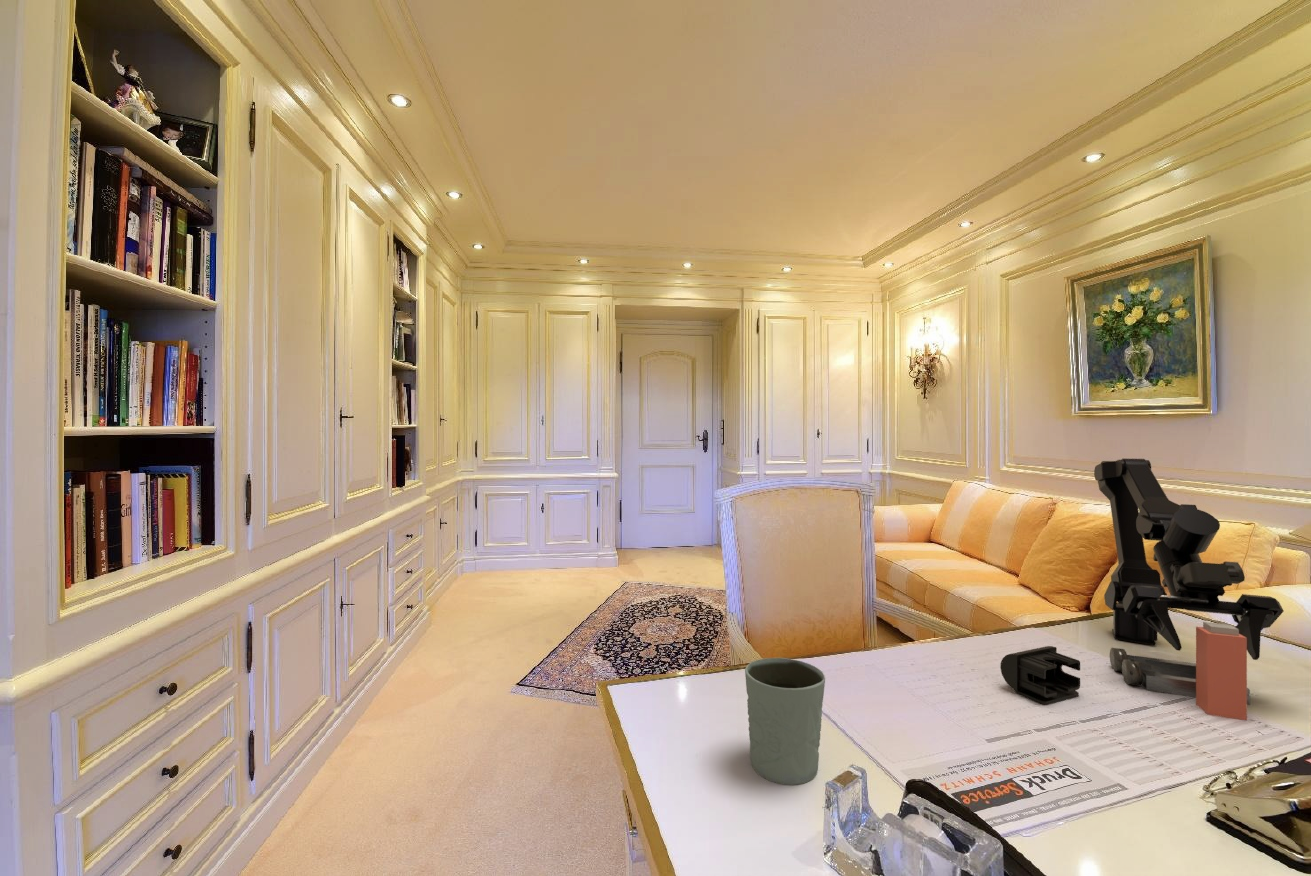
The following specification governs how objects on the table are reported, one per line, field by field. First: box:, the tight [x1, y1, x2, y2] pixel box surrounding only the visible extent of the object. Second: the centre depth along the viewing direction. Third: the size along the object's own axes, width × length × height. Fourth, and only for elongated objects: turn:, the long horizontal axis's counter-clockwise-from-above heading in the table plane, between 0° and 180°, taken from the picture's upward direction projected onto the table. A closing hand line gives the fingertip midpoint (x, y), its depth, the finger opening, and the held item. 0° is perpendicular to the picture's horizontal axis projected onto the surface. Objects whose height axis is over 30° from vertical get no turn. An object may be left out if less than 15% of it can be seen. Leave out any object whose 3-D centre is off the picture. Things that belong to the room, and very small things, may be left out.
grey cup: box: [744, 657, 826, 786], centre depth 71 cm, size 10×10×12 cm
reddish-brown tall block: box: [1195, 621, 1248, 721], centre depth 85 cm, size 4×4×14 cm
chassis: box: [1109, 647, 1251, 706], centre depth 95 cm, size 10×15×4 cm, turn 66°
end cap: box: [999, 645, 1081, 706], centre depth 92 cm, size 10×7×7 cm
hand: (1217, 653), depth 86 cm, fingers open, 9 cm apart
